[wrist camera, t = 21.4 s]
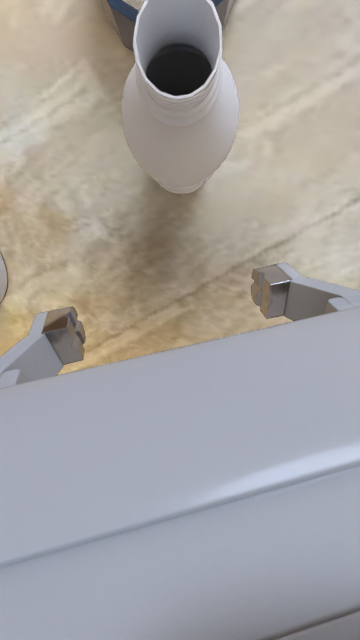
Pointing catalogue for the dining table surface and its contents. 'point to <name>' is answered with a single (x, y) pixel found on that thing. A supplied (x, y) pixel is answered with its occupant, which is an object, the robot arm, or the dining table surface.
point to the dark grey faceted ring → (126, 15)
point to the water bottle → (179, 94)
